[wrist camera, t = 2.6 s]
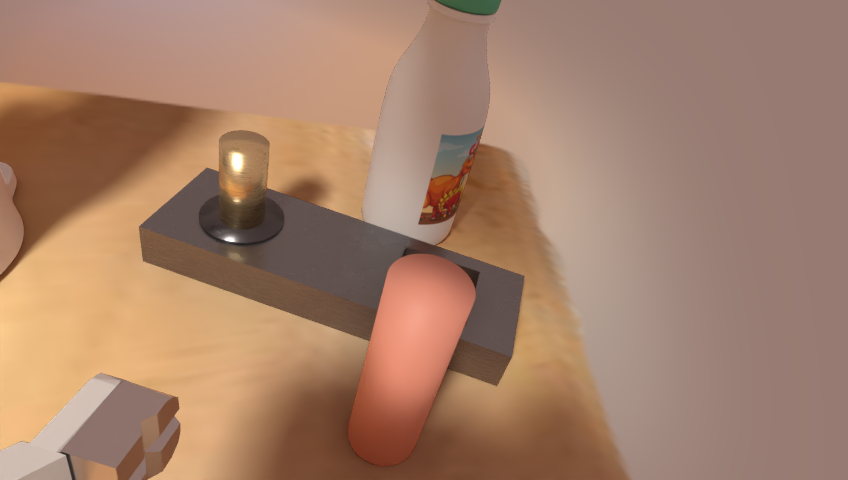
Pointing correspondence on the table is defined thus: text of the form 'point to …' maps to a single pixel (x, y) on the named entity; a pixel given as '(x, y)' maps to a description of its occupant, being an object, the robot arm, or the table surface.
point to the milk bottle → (431, 122)
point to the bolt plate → (312, 256)
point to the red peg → (408, 355)
